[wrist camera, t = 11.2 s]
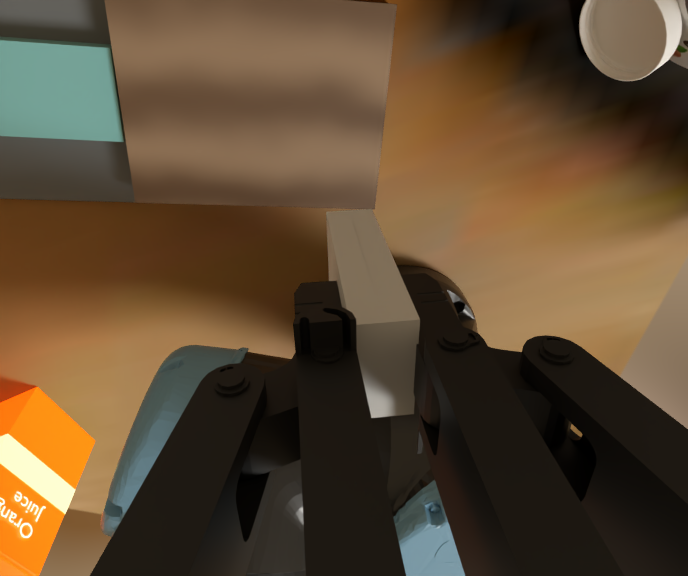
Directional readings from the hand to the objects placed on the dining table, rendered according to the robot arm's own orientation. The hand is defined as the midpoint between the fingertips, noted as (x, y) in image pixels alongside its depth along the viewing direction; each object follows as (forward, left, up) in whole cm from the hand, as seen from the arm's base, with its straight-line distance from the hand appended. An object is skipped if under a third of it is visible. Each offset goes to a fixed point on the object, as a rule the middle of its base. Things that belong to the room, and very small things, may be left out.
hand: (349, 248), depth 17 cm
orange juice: (-33, +27, -24) cm, 49 cm away
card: (0, +18, -23) cm, 29 cm away
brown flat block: (0, +4, -24) cm, 25 cm away
